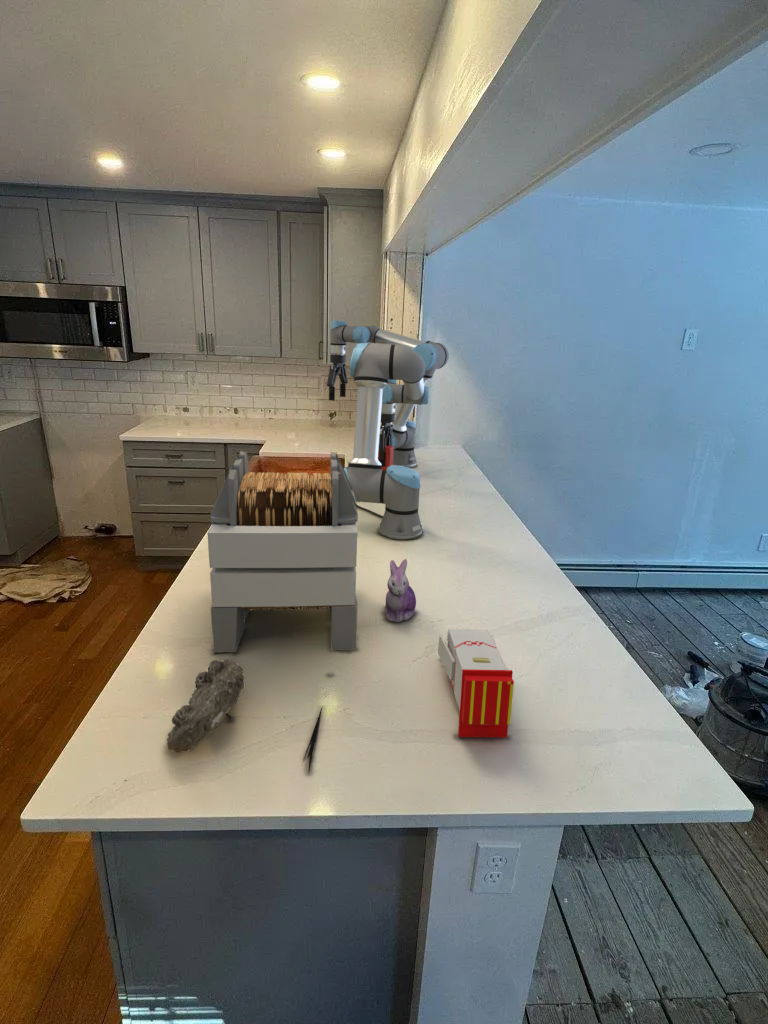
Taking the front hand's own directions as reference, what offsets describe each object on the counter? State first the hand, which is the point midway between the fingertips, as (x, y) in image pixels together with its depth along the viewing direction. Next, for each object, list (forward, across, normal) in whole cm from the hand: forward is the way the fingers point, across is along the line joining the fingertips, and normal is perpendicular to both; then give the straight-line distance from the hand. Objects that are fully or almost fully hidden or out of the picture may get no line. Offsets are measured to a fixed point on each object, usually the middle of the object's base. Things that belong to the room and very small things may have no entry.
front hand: (384, 464), depth 253 cm
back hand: (-22, +29, +36) cm, 51 cm away
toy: (+9, -132, -65) cm, 148 cm away
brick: (+3, 0, 0) cm, 3 cm away
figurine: (+9, -107, -42) cm, 116 cm away
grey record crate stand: (+9, -119, -16) cm, 121 cm away
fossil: (+9, -158, -20) cm, 160 cm away
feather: (+9, -152, -40) cm, 157 cm away
